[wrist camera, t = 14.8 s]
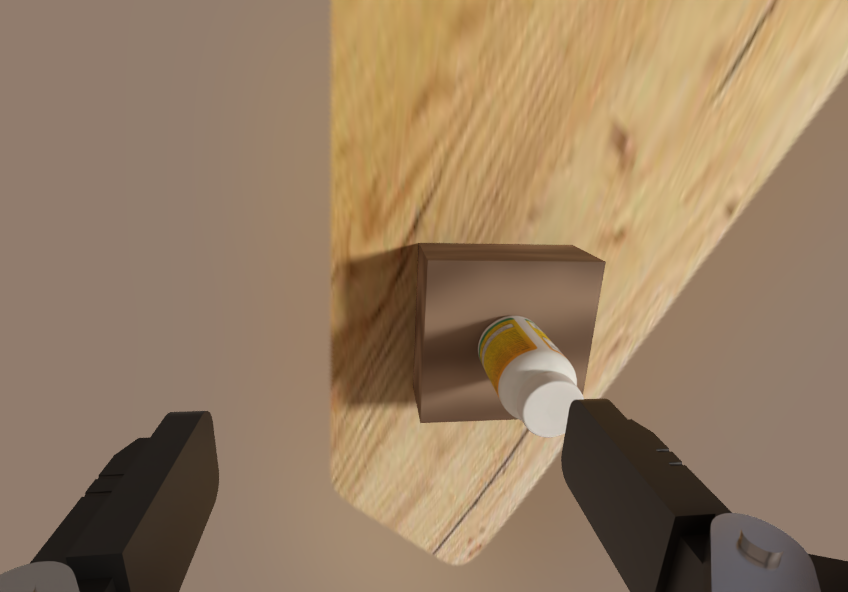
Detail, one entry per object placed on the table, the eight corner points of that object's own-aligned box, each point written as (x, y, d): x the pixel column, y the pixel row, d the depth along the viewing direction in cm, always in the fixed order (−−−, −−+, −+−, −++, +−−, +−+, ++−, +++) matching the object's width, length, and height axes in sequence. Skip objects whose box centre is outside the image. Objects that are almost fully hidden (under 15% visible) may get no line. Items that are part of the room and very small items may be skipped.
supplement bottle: (547, 317, 37) (606, 374, 28) (532, 376, 38) (584, 449, 29) (482, 310, 36) (522, 368, 27) (470, 372, 38) (504, 445, 29)
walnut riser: (418, 243, 40) (427, 260, 34) (572, 245, 42) (605, 261, 36) (413, 386, 44) (420, 423, 39) (552, 382, 46) (579, 417, 40)
